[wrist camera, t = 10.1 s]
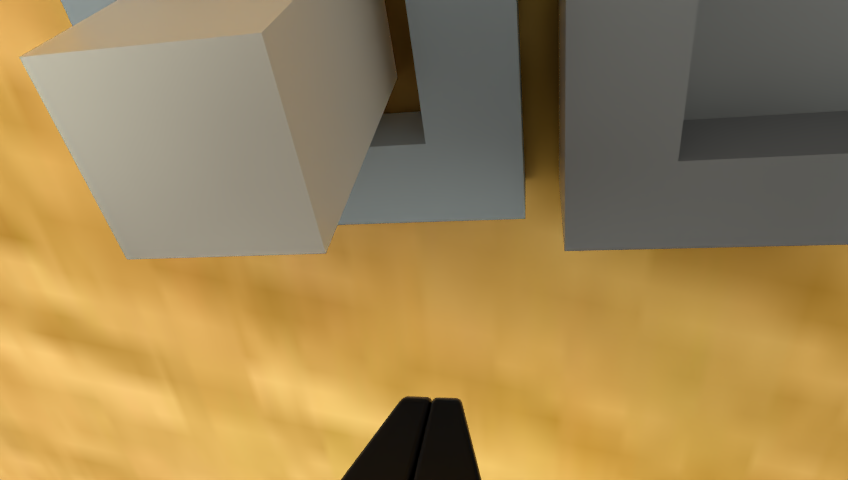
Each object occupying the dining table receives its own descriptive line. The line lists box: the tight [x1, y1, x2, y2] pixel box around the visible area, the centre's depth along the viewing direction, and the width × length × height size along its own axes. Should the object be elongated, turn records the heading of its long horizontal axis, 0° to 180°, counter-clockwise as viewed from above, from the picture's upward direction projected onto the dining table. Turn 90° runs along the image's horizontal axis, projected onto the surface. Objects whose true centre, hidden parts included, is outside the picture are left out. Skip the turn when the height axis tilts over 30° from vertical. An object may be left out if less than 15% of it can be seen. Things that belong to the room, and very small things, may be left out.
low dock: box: [61, 0, 525, 225], centre depth 16 cm, size 11×11×2 cm
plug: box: [19, 0, 398, 259], centre depth 14 cm, size 4×4×8 cm
